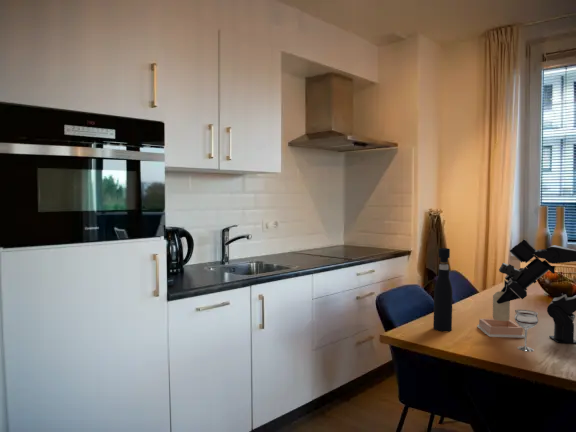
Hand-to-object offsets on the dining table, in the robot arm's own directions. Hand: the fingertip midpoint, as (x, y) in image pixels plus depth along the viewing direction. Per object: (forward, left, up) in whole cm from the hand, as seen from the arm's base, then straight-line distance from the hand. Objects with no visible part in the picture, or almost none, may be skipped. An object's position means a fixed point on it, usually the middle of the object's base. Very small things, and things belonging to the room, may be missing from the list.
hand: (497, 301), depth 161 cm
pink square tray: (0, -1, -11) cm, 11 cm away
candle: (-1, -1, -7) cm, 7 cm away
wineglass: (-18, -2, -11) cm, 22 cm away
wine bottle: (+1, +19, -11) cm, 22 cm away
